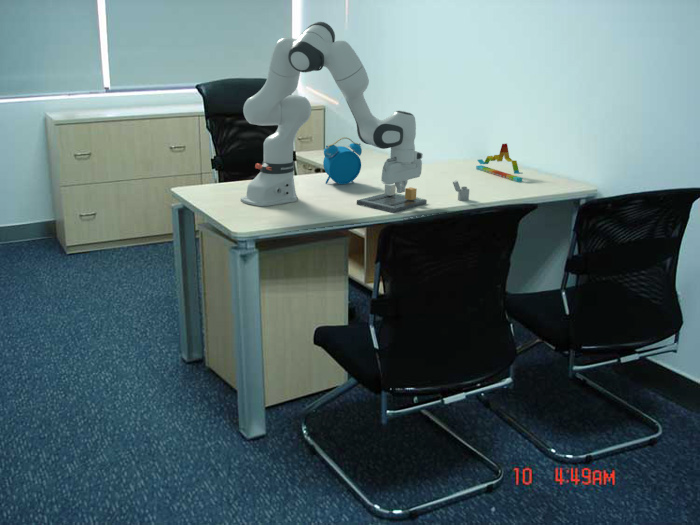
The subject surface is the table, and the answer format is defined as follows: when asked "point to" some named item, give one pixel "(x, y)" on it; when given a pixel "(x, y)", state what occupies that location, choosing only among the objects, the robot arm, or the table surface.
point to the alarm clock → (342, 162)
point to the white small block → (390, 189)
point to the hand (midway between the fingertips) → (400, 192)
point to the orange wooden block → (410, 193)
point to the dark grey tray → (391, 202)
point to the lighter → (461, 191)
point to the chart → (499, 157)
